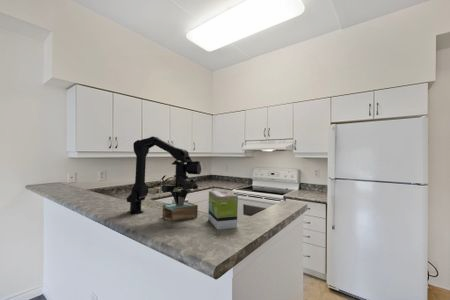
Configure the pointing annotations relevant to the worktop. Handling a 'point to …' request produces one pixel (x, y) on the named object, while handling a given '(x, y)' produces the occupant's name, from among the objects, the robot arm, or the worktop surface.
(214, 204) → the tea box
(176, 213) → the box
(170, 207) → the cover plate
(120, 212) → the worktop surface
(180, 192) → the medicine bottle
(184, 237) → the worktop surface
